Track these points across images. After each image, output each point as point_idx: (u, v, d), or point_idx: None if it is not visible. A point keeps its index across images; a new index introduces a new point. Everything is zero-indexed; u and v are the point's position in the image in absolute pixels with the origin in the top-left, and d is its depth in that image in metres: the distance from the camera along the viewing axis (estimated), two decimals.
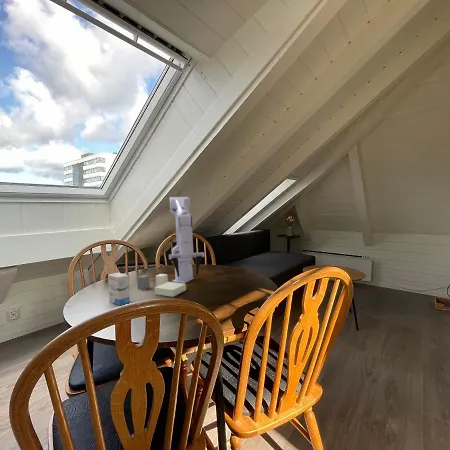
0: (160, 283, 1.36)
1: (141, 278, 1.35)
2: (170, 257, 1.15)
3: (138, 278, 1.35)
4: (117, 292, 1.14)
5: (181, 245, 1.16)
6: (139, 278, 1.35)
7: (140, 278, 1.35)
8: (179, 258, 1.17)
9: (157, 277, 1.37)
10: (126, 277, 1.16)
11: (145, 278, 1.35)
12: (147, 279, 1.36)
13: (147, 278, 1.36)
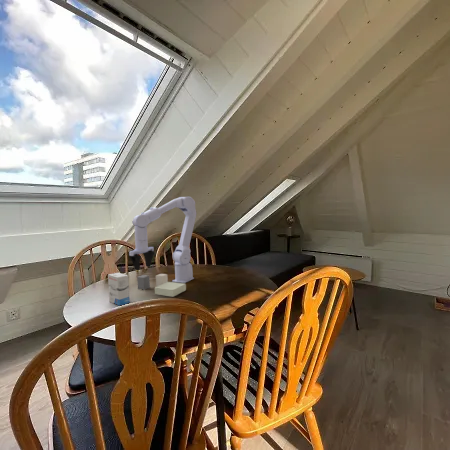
0: (160, 283, 1.36)
1: (141, 278, 1.35)
2: None
3: (138, 278, 1.35)
4: (117, 292, 1.14)
5: None
6: (139, 278, 1.35)
7: (140, 278, 1.35)
8: (145, 251, 1.39)
9: (157, 277, 1.37)
10: (126, 277, 1.16)
11: (145, 278, 1.35)
12: (147, 279, 1.36)
13: (147, 278, 1.36)
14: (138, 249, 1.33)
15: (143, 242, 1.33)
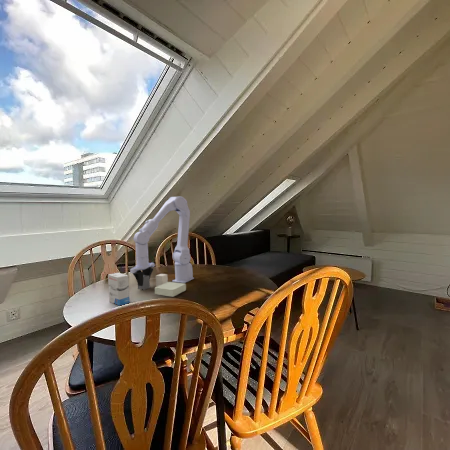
0: (160, 283, 1.36)
1: None
2: None
3: None
4: (117, 292, 1.14)
5: None
6: None
7: None
8: (146, 268, 1.39)
9: (157, 277, 1.37)
10: (126, 277, 1.16)
11: (145, 278, 1.35)
12: (147, 279, 1.36)
13: (147, 278, 1.36)
14: (139, 266, 1.33)
15: (144, 259, 1.34)
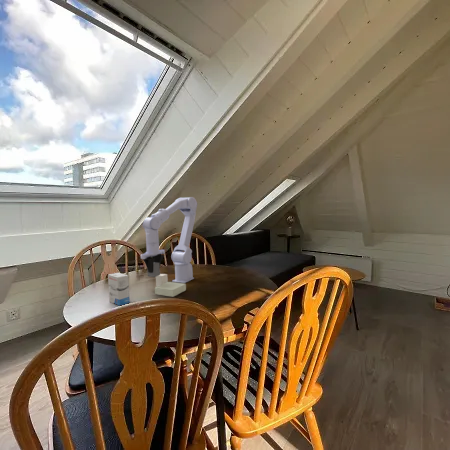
0: (160, 283, 1.36)
1: None
2: None
3: None
4: (117, 292, 1.14)
5: None
6: None
7: None
8: (156, 254, 1.36)
9: (157, 277, 1.37)
10: (126, 277, 1.16)
11: (155, 264, 1.31)
12: (157, 266, 1.33)
13: (157, 265, 1.33)
14: (149, 252, 1.30)
15: (154, 245, 1.30)
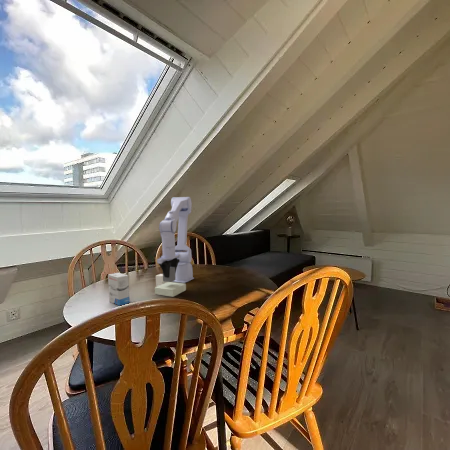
0: (160, 283, 1.36)
1: None
2: None
3: None
4: (117, 292, 1.14)
5: None
6: None
7: None
8: (172, 258, 1.32)
9: (157, 277, 1.37)
10: (126, 277, 1.16)
11: (171, 269, 1.28)
12: (173, 271, 1.29)
13: (173, 270, 1.29)
14: (166, 256, 1.26)
15: (171, 249, 1.26)
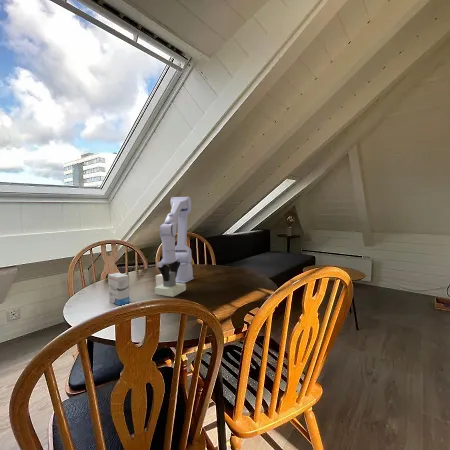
0: (160, 283, 1.36)
1: None
2: None
3: None
4: (117, 292, 1.14)
5: None
6: None
7: None
8: (172, 262, 1.32)
9: (157, 277, 1.37)
10: (126, 277, 1.16)
11: (171, 274, 1.28)
12: (173, 276, 1.29)
13: (173, 275, 1.29)
14: (166, 260, 1.26)
15: (171, 252, 1.26)
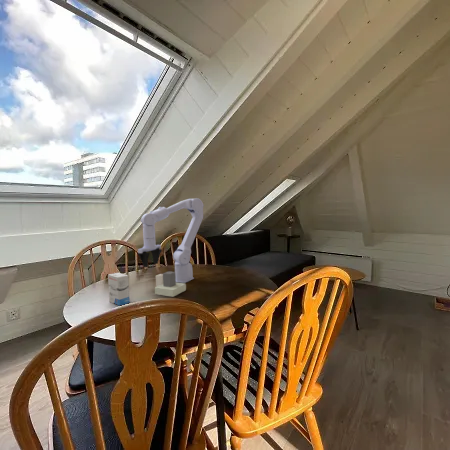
0: (160, 283, 1.36)
1: (167, 275, 1.27)
2: None
3: (164, 275, 1.28)
4: (117, 292, 1.14)
5: None
6: (165, 275, 1.28)
7: (166, 275, 1.28)
8: (153, 249, 1.42)
9: (157, 277, 1.37)
10: (126, 277, 1.16)
11: (171, 274, 1.28)
12: (173, 276, 1.29)
13: (173, 275, 1.29)
14: (146, 247, 1.36)
15: (151, 240, 1.36)
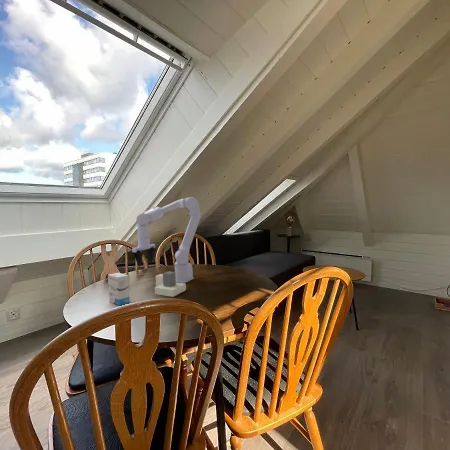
0: (160, 283, 1.36)
1: (167, 275, 1.27)
2: None
3: (164, 275, 1.28)
4: (117, 292, 1.14)
5: None
6: (165, 275, 1.28)
7: (166, 275, 1.28)
8: (147, 248, 1.46)
9: (157, 277, 1.37)
10: (126, 277, 1.16)
11: (171, 274, 1.28)
12: (173, 276, 1.29)
13: (173, 275, 1.29)
14: (141, 246, 1.40)
15: (145, 239, 1.40)
